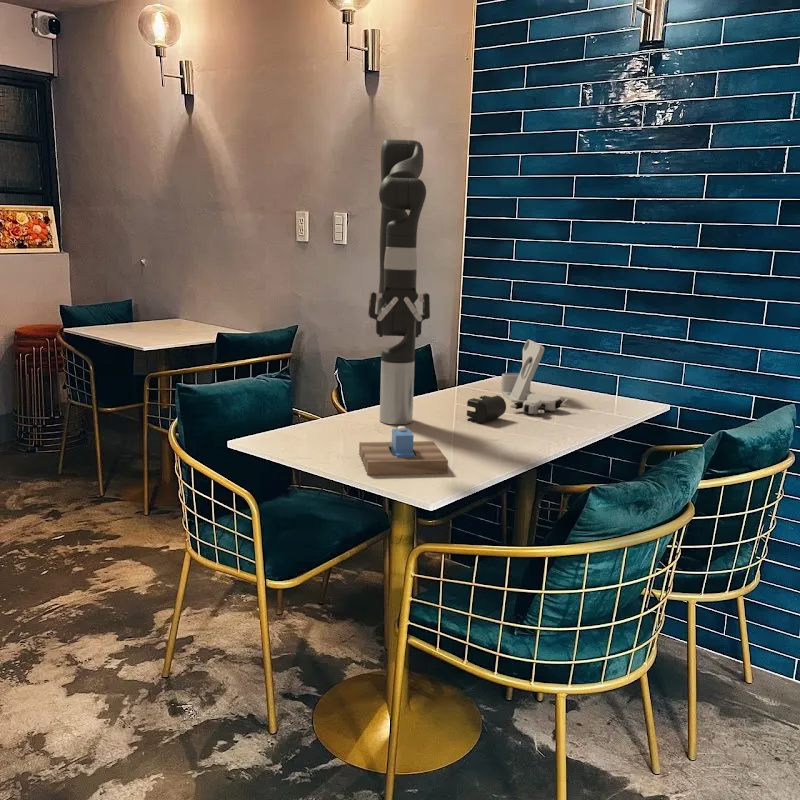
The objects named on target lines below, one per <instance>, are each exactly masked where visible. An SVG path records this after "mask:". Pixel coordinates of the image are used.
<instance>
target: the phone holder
mask: <svg viewBox="0 0 800 800" xmlns="http://www.w3.org/2000/svg"><path fill="white" fill-rule="evenodd" d="M544 352H545V347H544V346H543V345H541V344H540V343H537V342H536V341H534V340H531V339H527V340H526V341H525V343H524V345H523V348H522V362H521V363H522V366H521V369H520V371H519V372H506V373H505V372H504V373H502V374H501V386H500V387H501V388H500V390H499V393H501V395H503V396H504V397H505V398H506V399H507V400H508V401H510V402H511V403H515V402H522V403H524V401H526V397H527V396H529V395H531V393H533V392H532V391H531V383H532V381H533V378H534V376H535V374H536V371H537V369H538V367H539V364H540V362H541V360H542V357H543V355H544Z"/></svg>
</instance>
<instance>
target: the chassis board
mask: <svg viewBox="0 0 800 800" xmlns="http://www.w3.org/2000/svg"><path fill="white" fill-rule="evenodd" d="M390 443H392V441H364V442H363V441H360V442H359V446H358V447H359V448H358V449H359V450H358V451H359V453H358V455H359V458H360V457H361V458H360V461H361V462H363V463H362V464H363V468H364V467H365V468H364V470H365V473H366V472H367V473H366V475H367V476H383V475H384V476H385V475H386V476H387V475H389V476H390V475H391V474H395V475H430V474H431V473H432V474H433V475H434V474H435V475H436V474H437V475H438V474H439V473H441V474H448V466H449V460H448V458H447V457H446V456H445V454H444V453H443V452H442V450H441V449H440V447H439V446H438V445H437V444H436V443H435V441H434V440H428V441H427V440H426V441H419V440H418V441H417V440H416V441H414V440H413V453H414V454H415V457H396V456H393V455H392V453H391V446H390ZM426 473H427V474H426ZM428 473H430V474H428ZM432 474H431V475H432Z"/></svg>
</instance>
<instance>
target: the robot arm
mask: <svg viewBox="0 0 800 800" xmlns="http://www.w3.org/2000/svg"><path fill="white" fill-rule="evenodd" d="M423 167H424V148H423V145H422V144H421V142H420V141H417V140H413V139H385V140H384V141H383V142H382V145H381V148H380V178H381V179H380V181H381V182H380V186H379V190H378V191H379V192H378V199H379V202H380V203H381V208H380V209H381V210H380V211H381V212H380V213H381V214H380V228H379V284H378V285H379V286H378V292H376V291H371V292H369V300H368V301H369V303H368V314H367V315H368V317H369V318H370V319H373V320H375V333H376V335H377V336H378V337H379V338H382V337H384V336H385V337H403V338H402V340H400V342H398V343H395V344H394V345H392V346H388V347H386V348H383V349H382V351H381V352H380V353H381V355H380V360H381V361H380V391H379V394H380V395H379V396H380V397H379V398H380V400H379V422H381V423H383V424H388V425H407V424H411V423H412V422H413V417H414V416H413V415H414V414H413V413H414V387H415V360H416V359H415V357H416V356H415V355H416V350H415V349H416V338H419V337H420V335H421V334H422V322H423V321H425V320H428V319H430V317H431V307H430V301H431V299H430V294H429V293H427V292H423V293H418V292H417V273H418V272H417V271H418V270H417V268H418V255H417V254H418V253H417V243H418V242H417V241H418V240H417V238H418V225H419V220H420V217H421V213H422V210H423V207H424V203H425V201H426V196H427V188H426V185H425V183H424V181H423V180H422V179H421V178H419V177H420V176H421V174H422V172H423ZM407 211H409V213H408V212H407ZM418 299H419V301H420V303H422V313H421V314H420V313H419V311H418V309H417V306H416V304H415V303H416V302H417V300H418ZM376 305H377V309H376ZM376 310H377V311H376Z"/></svg>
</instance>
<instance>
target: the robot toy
mask: <svg viewBox="0 0 800 800" xmlns="http://www.w3.org/2000/svg"><path fill="white" fill-rule="evenodd" d="M567 401H568V398H566V399H565V400H564V401H563V400H562V398H561V397H560V396H557V395H555V394H549V393H542V392H538V393H537V392H535V393H534V392H532V393H531V395H529V396H527V397H526V401H524V403H522V402H517V403H515V402H514V404H510V406H509V407H510V408H512V409H515V410H520V409H521V410H522V413H525V414H527V413H528V415H532V414H533V416H535V415H538V414H540V415H544V414H545V412H546V411H547V412H549V411H551V412H552V411H553V412H554V411H556V410H557V409H559V408H562V406H563V405H564V404H565V403H566V402H567ZM551 412H550V413H551Z"/></svg>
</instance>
